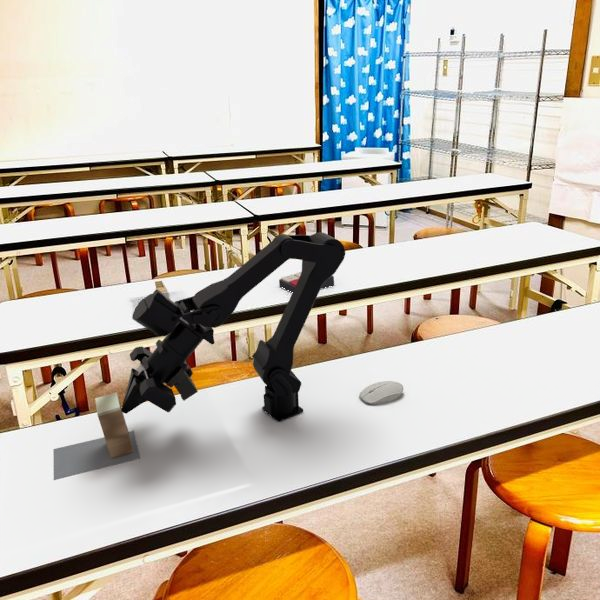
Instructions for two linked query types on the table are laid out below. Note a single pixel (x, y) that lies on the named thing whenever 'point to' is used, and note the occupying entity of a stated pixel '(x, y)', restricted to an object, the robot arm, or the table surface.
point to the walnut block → (113, 425)
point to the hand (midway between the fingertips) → (123, 411)
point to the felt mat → (88, 457)
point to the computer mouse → (381, 392)
